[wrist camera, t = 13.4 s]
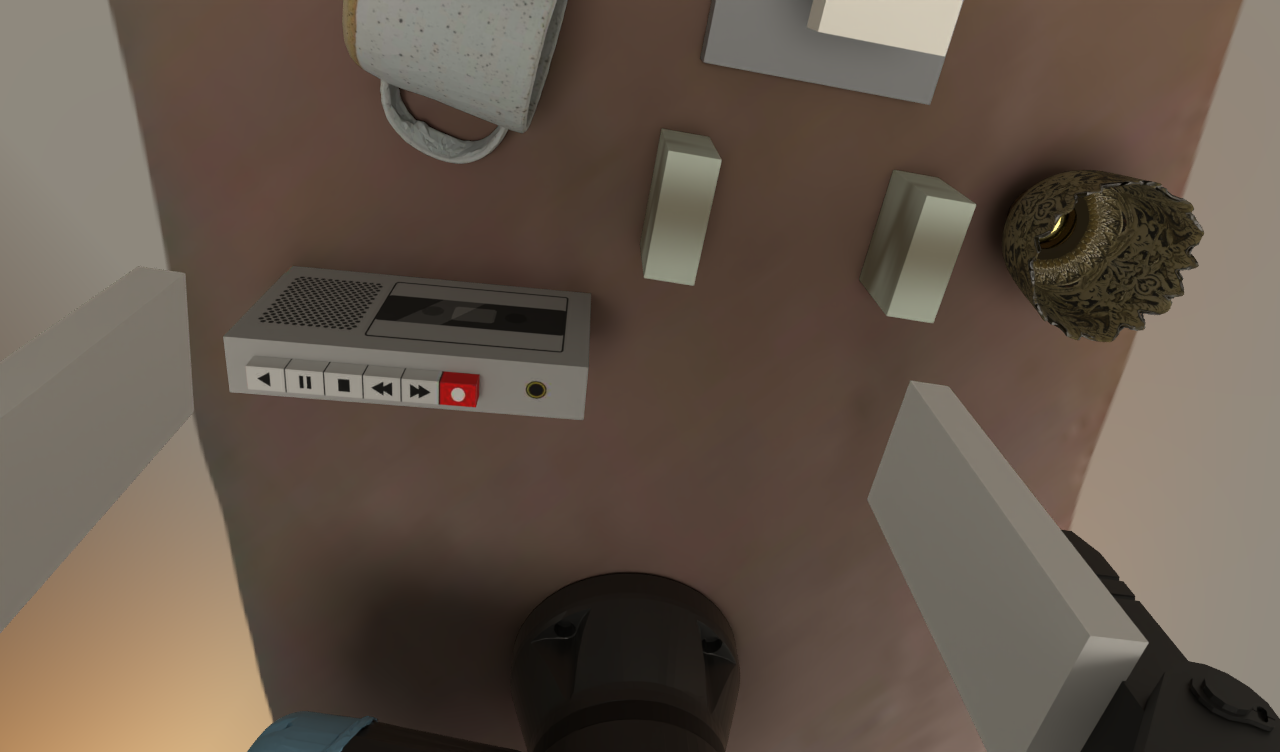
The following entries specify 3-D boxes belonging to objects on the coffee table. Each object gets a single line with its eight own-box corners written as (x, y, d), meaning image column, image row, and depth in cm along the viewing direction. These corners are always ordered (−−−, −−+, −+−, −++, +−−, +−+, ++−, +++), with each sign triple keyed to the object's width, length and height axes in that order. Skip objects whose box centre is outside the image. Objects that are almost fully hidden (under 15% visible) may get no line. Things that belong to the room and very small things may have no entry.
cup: (1137, 194, 44) (1240, 242, 37) (1035, 305, 47) (1113, 370, 40) (1036, 113, 42) (1125, 148, 35) (936, 235, 45) (999, 290, 37)
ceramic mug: (397, -113, 37) (349, -121, 30) (580, -50, 38) (574, -45, 31) (360, 127, 41) (311, 167, 34) (524, 175, 43) (508, 223, 36)
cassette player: (591, 292, 45) (588, 377, 37) (586, 338, 47) (582, 431, 38) (292, 265, 44) (213, 346, 35) (295, 312, 45) (220, 403, 36)
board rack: (901, 286, 46) (933, 323, 41) (640, 244, 44) (644, 277, 40) (938, 177, 43) (976, 204, 39) (661, 128, 42) (668, 150, 37)
